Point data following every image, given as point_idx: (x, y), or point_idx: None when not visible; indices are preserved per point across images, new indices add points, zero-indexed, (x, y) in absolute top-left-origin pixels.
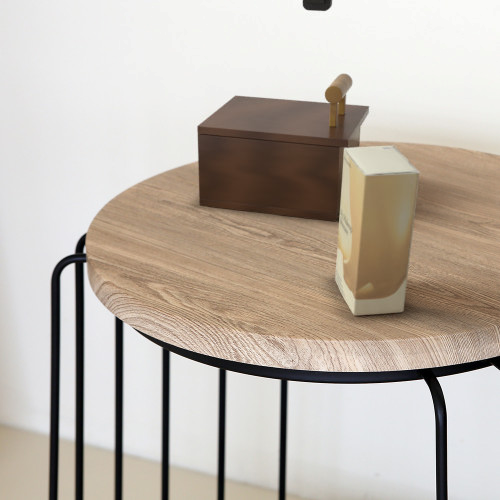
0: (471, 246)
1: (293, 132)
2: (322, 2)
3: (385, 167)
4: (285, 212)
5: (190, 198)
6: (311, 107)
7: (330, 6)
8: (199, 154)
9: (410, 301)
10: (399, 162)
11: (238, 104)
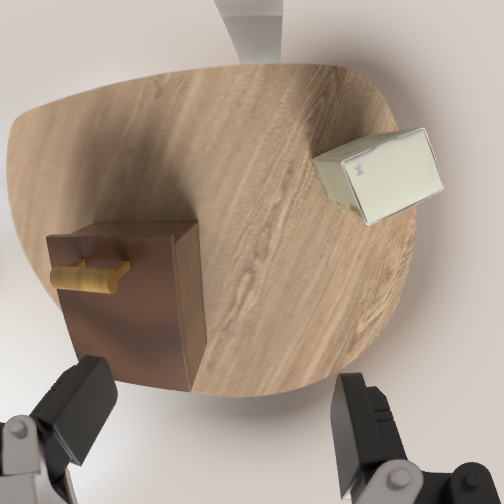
0: (215, 86)
1: (168, 304)
2: (378, 391)
3: (422, 167)
4: (200, 271)
5: None
6: (76, 298)
7: (356, 373)
8: (196, 372)
9: (345, 131)
10: (406, 151)
11: None
